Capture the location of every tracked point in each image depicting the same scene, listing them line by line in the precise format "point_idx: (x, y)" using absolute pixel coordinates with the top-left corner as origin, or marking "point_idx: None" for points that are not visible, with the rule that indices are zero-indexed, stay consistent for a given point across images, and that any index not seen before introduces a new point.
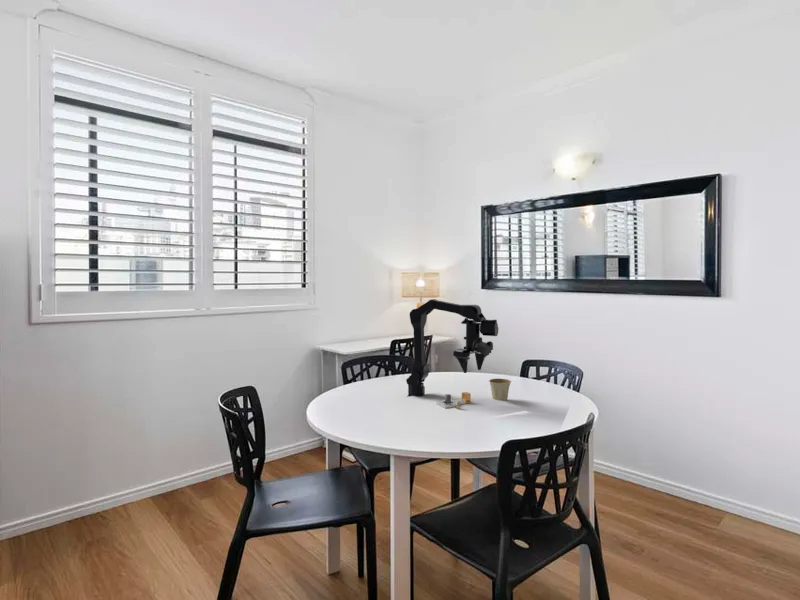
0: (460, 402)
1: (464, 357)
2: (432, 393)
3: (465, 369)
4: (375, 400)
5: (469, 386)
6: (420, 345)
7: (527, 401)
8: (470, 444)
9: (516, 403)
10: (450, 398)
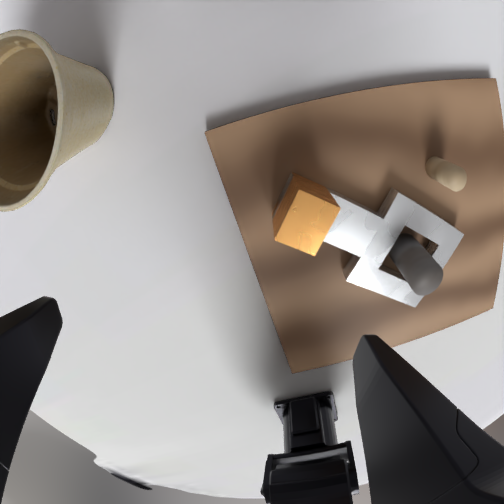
0: (362, 207)
1: None
2: (224, 401)
3: (410, 370)
4: None
5: None
6: None
7: (22, 18)
8: None
9: (75, 13)
10: (422, 253)
